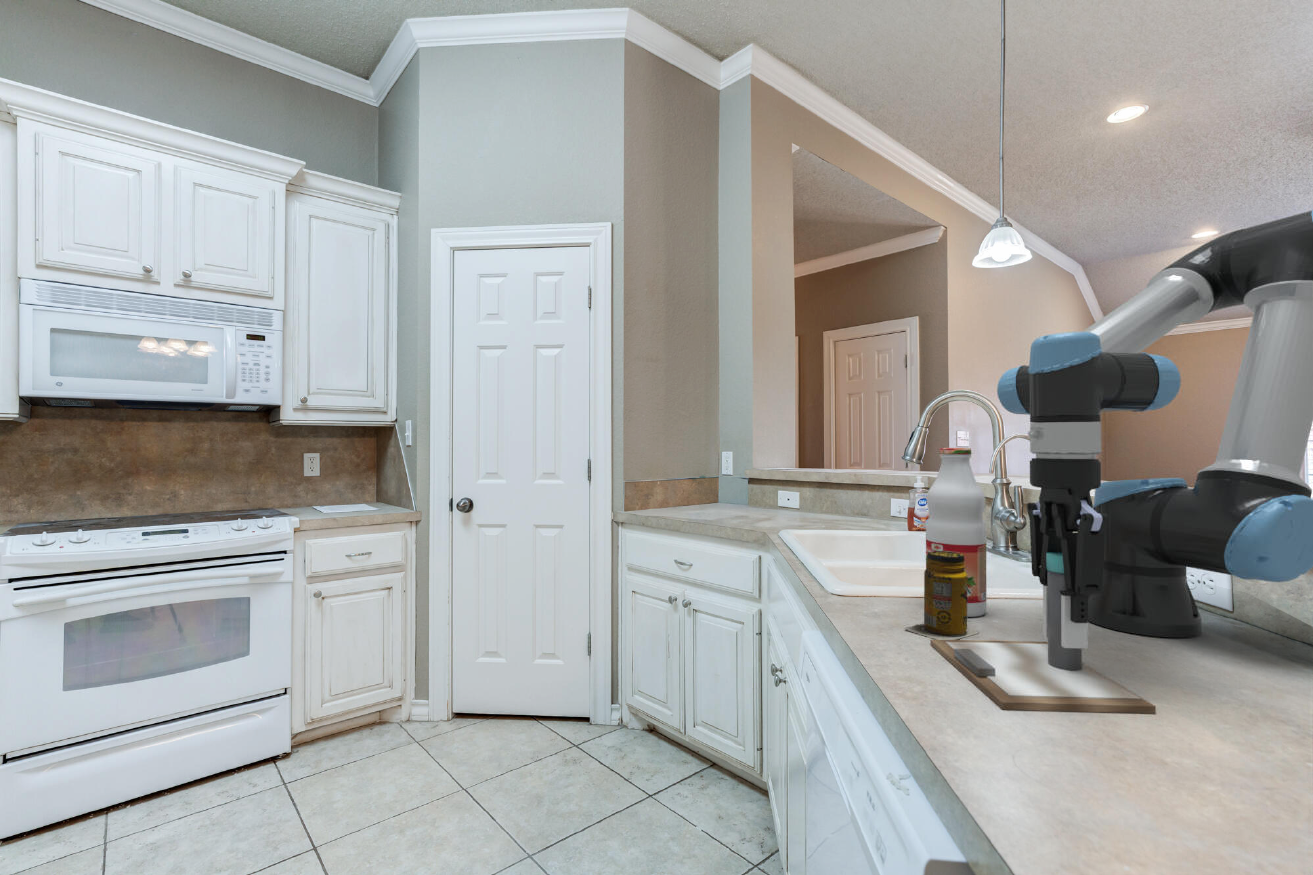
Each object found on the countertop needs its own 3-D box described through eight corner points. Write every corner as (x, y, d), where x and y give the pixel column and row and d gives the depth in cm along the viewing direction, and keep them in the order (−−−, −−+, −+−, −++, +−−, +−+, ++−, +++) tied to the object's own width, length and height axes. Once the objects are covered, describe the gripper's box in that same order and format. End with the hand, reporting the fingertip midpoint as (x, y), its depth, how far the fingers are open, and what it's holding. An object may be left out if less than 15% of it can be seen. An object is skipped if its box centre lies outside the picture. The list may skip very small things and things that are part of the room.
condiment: (979, 633, 94) (979, 554, 94) (947, 643, 90) (947, 561, 90) (935, 621, 100) (935, 547, 100) (903, 630, 96) (903, 553, 96)
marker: (1071, 660, 80) (1071, 552, 80) (1089, 671, 76) (1089, 557, 76) (1040, 659, 80) (1040, 551, 80) (1057, 670, 76) (1056, 557, 76)
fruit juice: (999, 614, 104) (999, 448, 104) (956, 620, 100) (956, 448, 100) (954, 600, 112) (954, 447, 112) (913, 605, 109) (913, 447, 109)
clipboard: (1046, 647, 88) (1046, 633, 88) (1155, 713, 67) (1155, 696, 67) (930, 645, 89) (930, 631, 89) (1002, 709, 68) (1002, 692, 68)
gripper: (1001, 454, 87) (1002, 622, 87) (1072, 458, 70) (1073, 664, 70) (1057, 454, 86) (1057, 623, 86) (1142, 458, 70) (1142, 666, 70)
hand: (1064, 641), depth 78 cm, fingers closed on marker, 3 cm apart
